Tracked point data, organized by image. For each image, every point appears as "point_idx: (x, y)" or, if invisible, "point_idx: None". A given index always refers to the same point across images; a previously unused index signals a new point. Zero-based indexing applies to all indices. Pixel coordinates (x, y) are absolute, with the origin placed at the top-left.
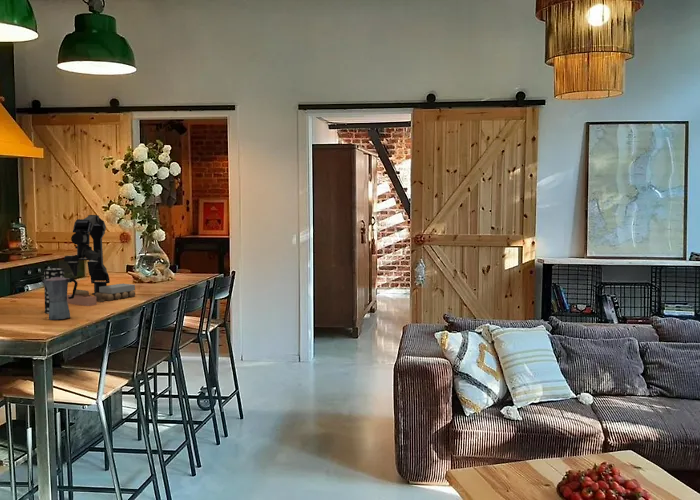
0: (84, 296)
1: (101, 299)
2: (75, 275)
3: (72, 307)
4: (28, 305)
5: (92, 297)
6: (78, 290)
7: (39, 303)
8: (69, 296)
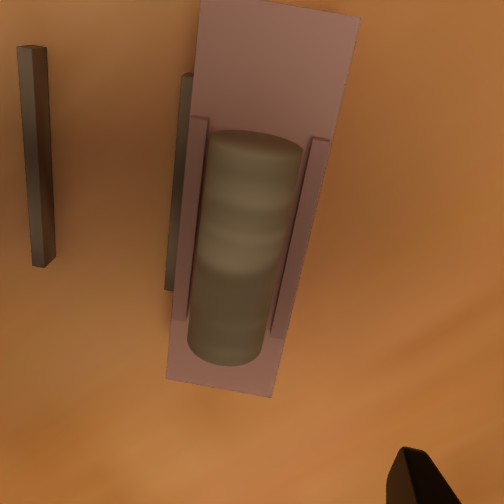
0: None
1: (25, 92)
2: (432, 478)
3: (494, 125)
4: (475, 494)
5: (278, 4)
6: (256, 292)
7: (366, 483)
8: (283, 345)
